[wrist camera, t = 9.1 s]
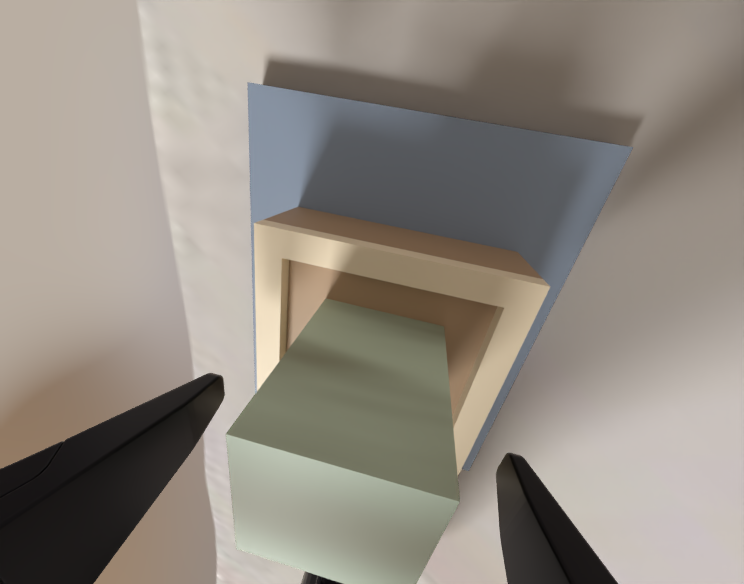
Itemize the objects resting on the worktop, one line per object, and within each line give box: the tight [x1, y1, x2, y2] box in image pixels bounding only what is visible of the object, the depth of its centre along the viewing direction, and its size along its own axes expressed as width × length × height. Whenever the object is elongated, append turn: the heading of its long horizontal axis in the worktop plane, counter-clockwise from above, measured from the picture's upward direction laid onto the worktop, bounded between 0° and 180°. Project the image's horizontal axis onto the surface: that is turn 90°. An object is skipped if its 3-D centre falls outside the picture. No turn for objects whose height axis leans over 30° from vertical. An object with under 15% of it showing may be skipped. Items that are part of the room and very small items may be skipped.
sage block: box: [226, 299, 460, 584], centre depth 9 cm, size 4×4×6 cm
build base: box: [248, 83, 633, 475], centre depth 13 cm, size 18×14×5 cm
